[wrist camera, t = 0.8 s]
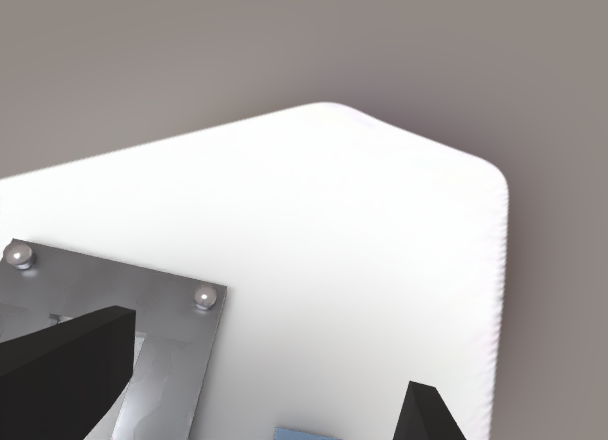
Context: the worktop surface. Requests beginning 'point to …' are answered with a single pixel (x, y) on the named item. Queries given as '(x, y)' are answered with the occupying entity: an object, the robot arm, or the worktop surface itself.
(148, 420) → the plate
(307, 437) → the servo
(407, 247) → the worktop surface
